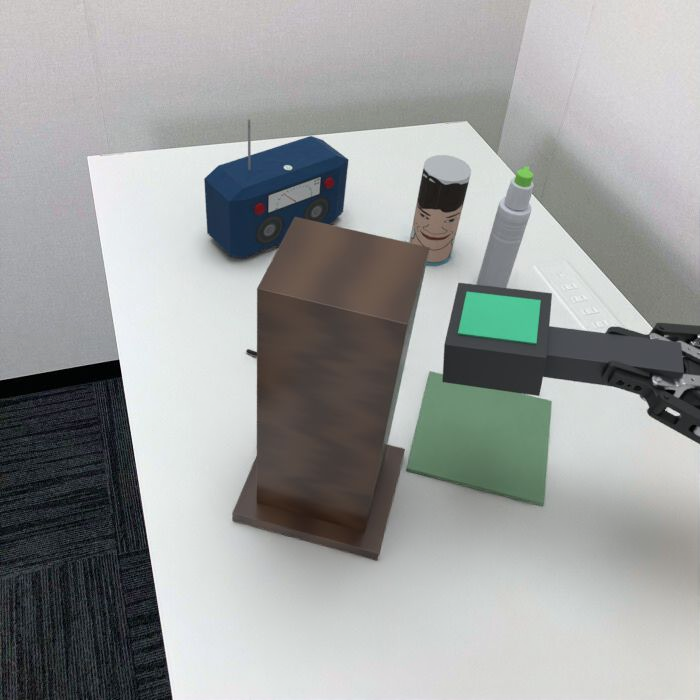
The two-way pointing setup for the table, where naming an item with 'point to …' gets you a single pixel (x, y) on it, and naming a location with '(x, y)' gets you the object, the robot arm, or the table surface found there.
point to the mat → (483, 439)
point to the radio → (273, 194)
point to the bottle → (507, 231)
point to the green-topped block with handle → (536, 344)
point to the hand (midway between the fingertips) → (605, 352)
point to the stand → (330, 385)
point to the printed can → (440, 206)
